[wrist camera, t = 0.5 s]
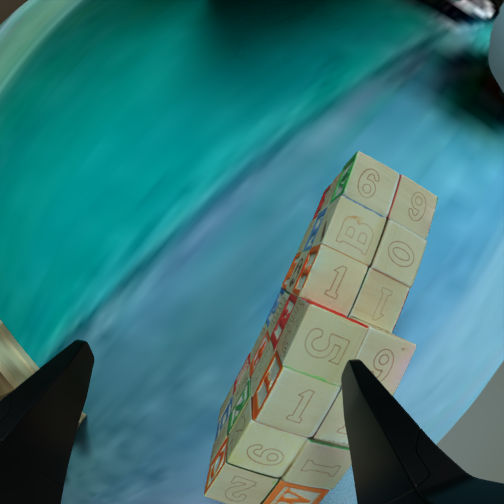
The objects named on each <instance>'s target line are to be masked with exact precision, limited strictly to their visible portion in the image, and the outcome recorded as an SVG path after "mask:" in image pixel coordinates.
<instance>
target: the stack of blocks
mask: <svg viewBox="0 0 504 504" xmlns="http://www.w3.org/2000/svg"><path fill="white" fill-rule="evenodd" d="M437 200H438V197H437V196H435V195H434V194H432V193H431V192H429V191H428V190H426V189H425V188H423V187H421V186H420V185H418V184H417V183H415V182H414V181H412V180H411V179H409V178H407V177H406V176H404V175H400V174H398V173H397V172H396V171H394V170H392V169H391V168H389V167H387V166H385V165H384V164H382V163H380V162H378V161H376V160H374V159H373V158H371V157H369V156H367V155H365V154H363V153H362V152H360V151H358V152H357V153H355V155H354V156H353V157H352V158H351V159H350V160H349V161H348V162H347V163H346V165H345V166H344V167H343V170H342V172H341V173H340V174H339V175H338V176H337V177H336V178H335V179H334V180H333V182H332V183H331V185H329V186H328V188H327V189H326V190H325V191H324V193H323V196H322V198H321V201H320V203H319V206H318V208H317V211H316V213H315V215H314V218H313V220H312V222H310V224H309V227H308V229H307V231H306V233H305V236H304V238H303V240H302V242H301V245H300V247H299V249H298V252H297V254H296V256H295V258H294V260H293V262H292V264H291V267H290V269H289V271H288V273H287V275H286V277H285V280H284V282H283V284H282V287H281V291H280V293H279V295H278V297H277V299H276V301H275V303H274V305H273V307H272V309H271V311H270V313H269V315H268V318H267V320H266V323H265V324H264V326H263V328H262V331H261V333H260V335H259V337H258V339H257V341H256V343H255V345H254V347H253V349H252V351H251V353H250V354H249V355H248V357H247V359H246V361H245V363H244V365H243V367H242V369H241V371H240V373H239V375H238V377H237V379H236V381H235V382H234V384H233V386H232V387H231V389H230V391H229V393H228V395H227V397H226V399H225V401H224V403H223V405H222V406H221V409H220V415H219V419H218V428H217V433H216V438H215V443H214V445H213V450H212V454H211V458H210V465H209V472H208V476H207V482H206V486H205V491H204V496H206V497H208V498H211V499H214V500H217V501H220V502H223V503H226V504H319V502H320V501H321V500H322V499H323V498H324V496H325V495H326V494H327V493H328V492H329V490H331V489H333V488H334V487H335V486H336V484H337V483H338V482H339V481H340V479H341V478H342V477H343V475H344V474H345V473H346V471H347V470H348V468H349V467H350V466H351V464H352V462H351V456H350V450H349V444H348V439H347V433H346V427H345V421H344V412H343V397H342V383H341V376H342V373H343V370H344V368H345V366H346V363H347V361H348V360H352V359H359V360H361V361H362V362H363V363H364V364H365V365H366V366H367V368H368V369H369V370H370V371H371V372H372V373H373V374H374V375H375V377H376V378H377V379H378V380H379V381H380V382H381V383H382V385H383V386H384V387H385V388H386V389H387V390H388V391H389V392H390V394H391V395H392V396H393V395H394V393H395V391H396V389H397V387H398V385H399V383H400V381H401V379H402V377H403V375H404V373H405V371H406V369H407V367H408V365H409V362H410V360H411V358H412V356H413V353H414V351H415V349H416V344H413V343H411V342H409V341H406V340H404V339H402V338H400V337H398V336H396V335H394V334H392V331H393V329H394V327H395V325H396V322H397V320H398V318H399V315H400V313H401V310H402V308H403V305H404V303H405V300H406V298H407V295H408V293H409V289H410V288H411V287H412V285H413V283H414V280H415V277H416V274H417V271H418V269H419V266H420V263H421V260H422V257H423V253H424V250H425V247H426V244H427V241H426V238H427V236H428V233H429V230H430V226H431V223H432V219H433V216H434V211H435V208H436V204H437Z"/></svg>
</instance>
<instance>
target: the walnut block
mask: <svg viewBox="0 0 504 504" xmlns="http://www.w3.org/2000/svg"><path fill="white" fill-rule="evenodd" d="M13 390H14V388H13V387H12V386H11V384H10V383H9V382H8V381H7V379H6V378H5V377H4V376H3V374H2V373H1V372H0V400H2V399H3V398H4V397H5V396H7V395H8V394H9V393H10V392H12V391H13Z"/></svg>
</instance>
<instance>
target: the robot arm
mask: <svg viewBox="0 0 504 504" xmlns="http://www.w3.org/2000/svg"><path fill="white" fill-rule="evenodd" d="M93 365H94V355H93V353H92V351H91V349H90V346H89V344H88V343H87V342H86V341H83V340H75V341H74V342H73V343H71V344H70V345H69V346H68V347H66V348H65V349H64V350H62V351H61V352H60V353H59V354H57V355H56V356H55V357H54V358H52V359H51V360H50V361H49V362H47V363H46V364H45V365H43V366H42V367H41V368H40V369H38V370H37V371H36V372H35V373H34V374H32V375H31V376H30V377H29V378H27V379H26V380H25V381H24V382H22V383H21V384H20V385H19V386H18V387H16V388H15V389H14V390H13V391H12V392H10V393H9V394H8V395H7V396H5V397H4V398H3V399H2V400H0V504H61V498H62V493H63V486H64V482H65V477H66V472H67V468H68V464H69V459H70V455H71V451H72V447H73V443H74V439H75V435H76V432H77V428H78V425H79V421H80V418H81V414H82V411H83V407H84V404H85V401H86V397H87V393H88V388H89V383H90V378H91V374H92V369H93ZM341 383H342V397H343V412H344V421H345V427H346V433H347V439H348V444H349V450H350V456H351V462H352V469H353V475H354V482H355V489H356V496H357V503H358V504H504V484H503V483H498V482H493V481H487V480H483V479H479V478H476V477H473V476H471V475H469V474H468V473H466V472H465V471H464V470H463V469H461V467H459V466H458V465H457V464H456V463H455V462H454V461H453V460H452V459H451V458H449V457H448V456H447V455H446V454H445V453H444V452H443V451H442V450H441V449H439V447H438V446H437V445H436V444H435V443H434V442H433V441H432V440H431V439H430V438H429V437H428V436H427V435H426V434H425V432H424V431H423V430H422V429H420V427H419V426H418V424H417V423H416V422H415V421H414V420H413V419H412V418H411V416H410V415H409V414H408V413H407V412H406V411H405V410H404V408H403V407H402V406H401V405H400V404H399V403H398V402H397V400H396V399H395V398H394V397H393V396H392V395H391V394H390V392H389V391H388V390H387V389H386V388H385V387H384V386H383V385H382V383H381V382H380V381H379V380H378V379H377V378H376V377H375V375H374V374H373V373H372V372H371V371H370V370H369V369H368V368H367V366H366V365H365V364H364V363H363V362H362V361H361V360H359V359H352V360H348V361H347V363H346V366H345V368H344V370H343V373H342V376H341Z"/></svg>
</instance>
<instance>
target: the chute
mask: <svg viewBox="0 0 504 504" xmlns="http://www.w3.org/2000/svg"><path fill="white" fill-rule="evenodd" d="M38 369H40V368H39V367H38V366H37V365H36V364H35V363H34V362H33V360H32V359H31V358H30V357H29V356H28V355H27V353H26V352H25V351H24V350H23V348H22V347H21V346H20V345H19V343H18V342H17V341H16V340H15V338H14V337H13V336H12V335H11V333H10V332H9V331H8V329H7V328H6V326H5V325H4V324H3V322H2V321H1V320H0V372H1V373H2V374H3V376H4V377H5V378H6V379H7V381H8V382H9V383H10V384H11V386H12V387H13V388H14V389H15V388H16V387H18V386H19V385H20V384H21V383H22V382H24V381H25V380H26V379H27V378H29V377H30V376H31V375H32V374H34V373H35V372H36V371H37V370H38ZM86 416H87V415H86V414H85V413H83V412H82V414H81V418H80V421H79V425H78V428H79V426H80V425H81V423H82V422H83V420H84V419H85V417H86ZM78 428H77V429H78Z"/></svg>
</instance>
